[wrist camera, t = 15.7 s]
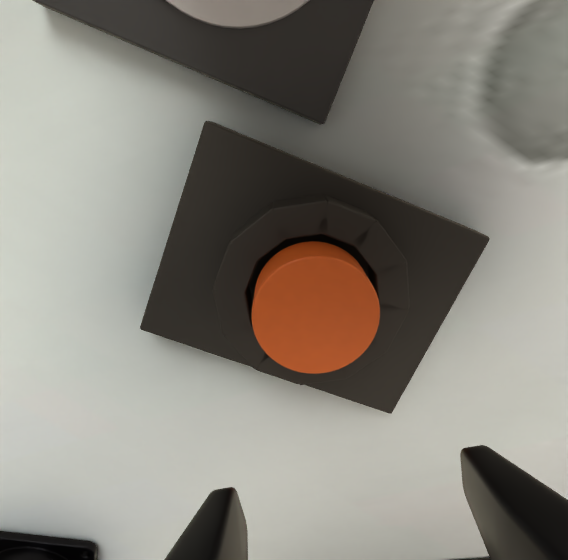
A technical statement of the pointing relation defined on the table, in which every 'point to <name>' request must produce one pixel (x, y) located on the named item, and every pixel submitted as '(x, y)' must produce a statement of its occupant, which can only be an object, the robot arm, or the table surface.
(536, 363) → the table surface
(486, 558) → the black printed box
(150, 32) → the coffee maker
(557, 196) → the table surface
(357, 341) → the button
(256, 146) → the pad
